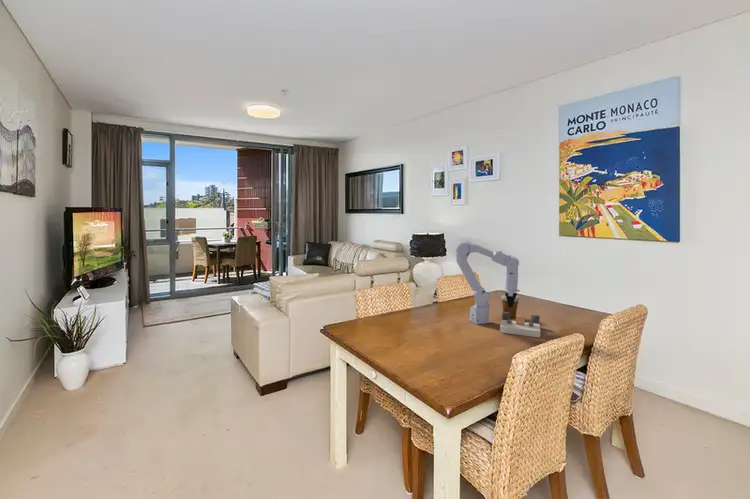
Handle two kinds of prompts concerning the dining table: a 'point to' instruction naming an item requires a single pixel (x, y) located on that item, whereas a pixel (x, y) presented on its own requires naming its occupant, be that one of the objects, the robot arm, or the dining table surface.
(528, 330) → the panel
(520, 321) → the tan rectangular block
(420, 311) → the dining table surface
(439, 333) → the dining table surface
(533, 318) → the post
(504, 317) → the post
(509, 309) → the disposable coffee cup
